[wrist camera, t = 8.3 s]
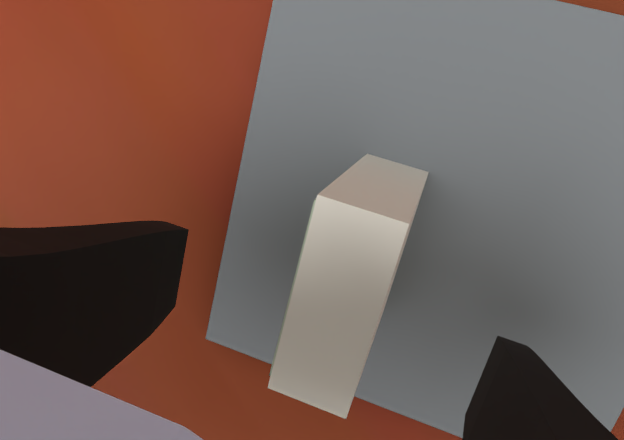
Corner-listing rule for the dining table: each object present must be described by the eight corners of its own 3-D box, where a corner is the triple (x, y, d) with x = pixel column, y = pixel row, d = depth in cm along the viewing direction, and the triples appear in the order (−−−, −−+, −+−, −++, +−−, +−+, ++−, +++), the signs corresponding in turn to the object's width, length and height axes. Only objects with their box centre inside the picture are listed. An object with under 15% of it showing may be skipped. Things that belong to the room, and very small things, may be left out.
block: (383, 311, 18) (345, 419, 12) (325, 291, 18) (264, 386, 13) (428, 172, 16) (409, 223, 11) (364, 153, 17) (313, 193, 11)
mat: (579, 471, 18) (582, 484, 18) (212, 331, 21) (205, 338, 20) (794, 57, 14) (809, 57, 13) (291, -56, 16) (285, -60, 16)
